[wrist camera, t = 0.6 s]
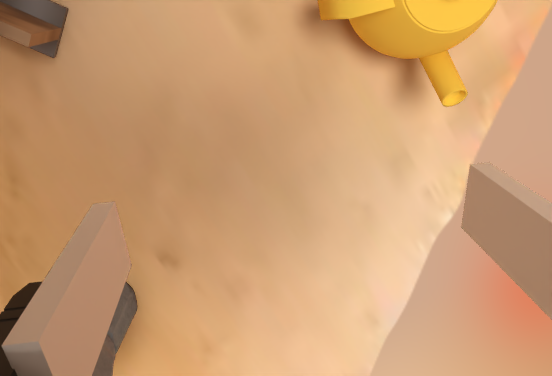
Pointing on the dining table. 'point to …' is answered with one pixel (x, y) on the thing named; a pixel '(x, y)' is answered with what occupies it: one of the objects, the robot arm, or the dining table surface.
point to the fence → (33, 23)
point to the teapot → (416, 32)
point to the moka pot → (116, 332)
